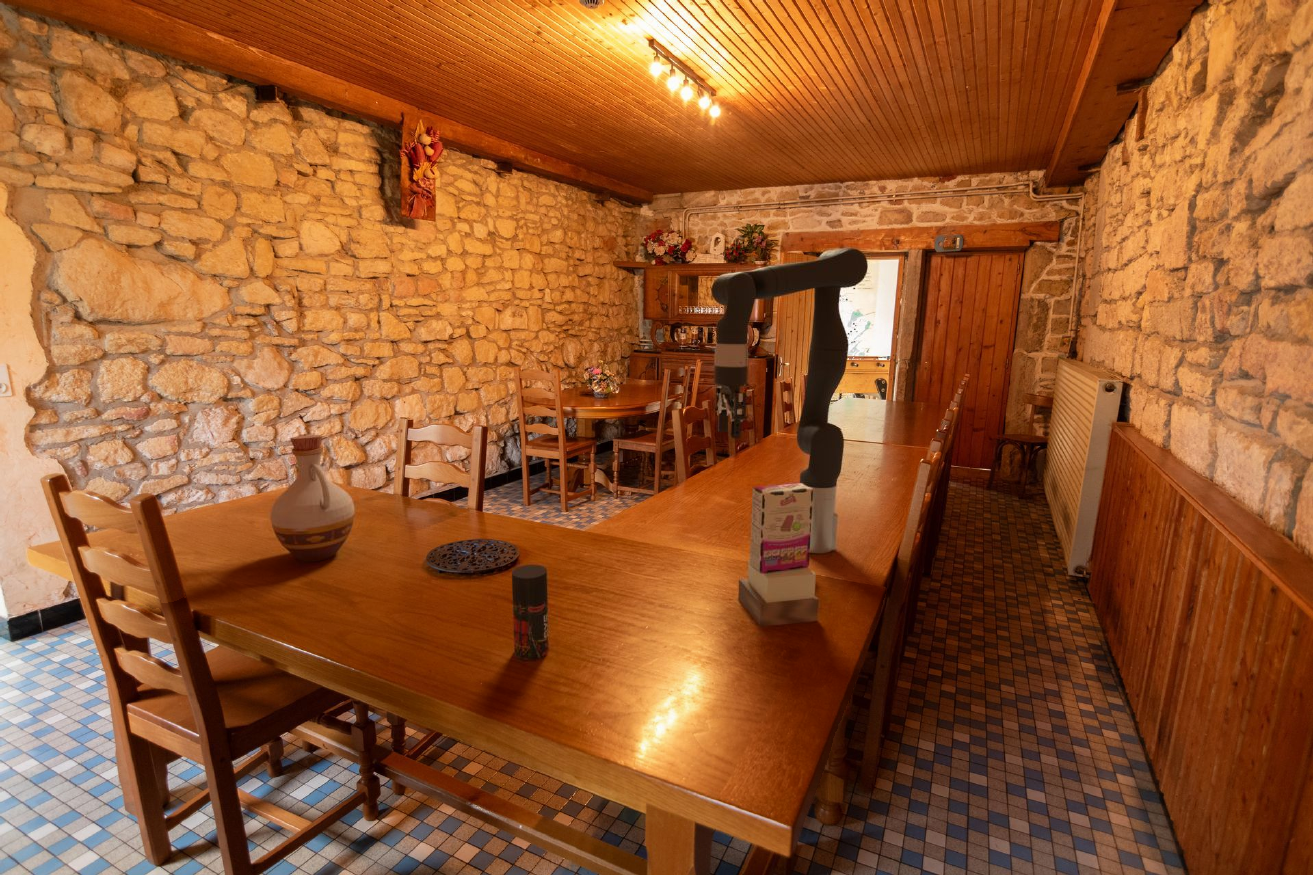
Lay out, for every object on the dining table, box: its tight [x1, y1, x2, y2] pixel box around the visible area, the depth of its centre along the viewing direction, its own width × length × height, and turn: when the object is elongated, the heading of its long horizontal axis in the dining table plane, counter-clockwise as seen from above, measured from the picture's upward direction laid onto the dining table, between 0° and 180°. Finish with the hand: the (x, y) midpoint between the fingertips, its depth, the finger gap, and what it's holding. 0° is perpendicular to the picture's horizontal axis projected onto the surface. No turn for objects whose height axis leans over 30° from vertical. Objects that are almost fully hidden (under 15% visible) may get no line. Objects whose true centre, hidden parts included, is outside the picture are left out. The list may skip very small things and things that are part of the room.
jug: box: [269, 434, 355, 563], centre depth 147 cm, size 20×18×30 cm
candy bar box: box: [749, 482, 813, 573], centre depth 121 cm, size 11×5×16 cm, turn 109°
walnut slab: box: [737, 578, 820, 627], centre depth 125 cm, size 12×12×5 cm
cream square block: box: [747, 558, 817, 603], centre depth 123 cm, size 10×10×5 cm
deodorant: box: [511, 564, 550, 662], centre depth 107 cm, size 6×6×15 cm
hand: (728, 434), depth 142 cm, fingers open, 8 cm apart
